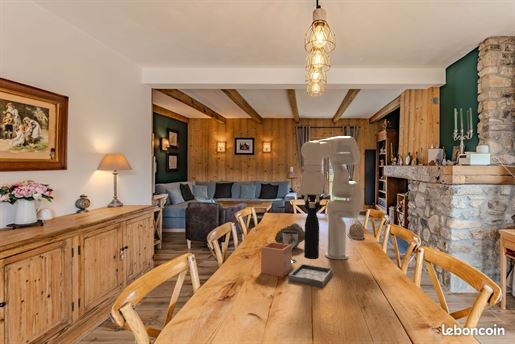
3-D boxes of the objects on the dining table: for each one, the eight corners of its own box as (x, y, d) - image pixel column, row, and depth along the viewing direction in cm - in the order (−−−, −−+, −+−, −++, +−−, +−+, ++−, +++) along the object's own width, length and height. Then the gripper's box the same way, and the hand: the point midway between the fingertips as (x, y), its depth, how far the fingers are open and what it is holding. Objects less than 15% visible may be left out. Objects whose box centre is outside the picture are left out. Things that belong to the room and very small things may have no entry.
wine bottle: (302, 255, 139) (303, 189, 139) (316, 255, 140) (317, 189, 139) (306, 259, 133) (307, 190, 133) (320, 259, 134) (321, 191, 133)
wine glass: (296, 263, 156) (297, 234, 156) (281, 262, 157) (281, 233, 157) (298, 259, 164) (298, 231, 163) (283, 258, 165) (283, 230, 165)
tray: (301, 268, 148) (301, 263, 148) (332, 274, 141) (332, 268, 141) (288, 280, 132) (288, 275, 132) (322, 287, 125) (322, 281, 125)
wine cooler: (270, 265, 152) (270, 241, 152) (291, 269, 147) (291, 244, 147) (260, 272, 142) (261, 247, 142) (282, 276, 137) (283, 250, 137)
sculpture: (362, 234, 226) (363, 221, 226) (366, 240, 209) (366, 225, 209) (346, 233, 228) (346, 220, 228) (348, 239, 212) (348, 224, 212)
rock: (295, 218, 192) (290, 217, 178) (310, 236, 188) (307, 237, 174) (273, 236, 195) (267, 237, 180) (287, 255, 190) (282, 257, 176)
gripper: (292, 169, 136) (291, 209, 137) (329, 169, 129) (328, 212, 129) (298, 169, 143) (297, 208, 143) (333, 169, 135) (332, 210, 136)
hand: (312, 209), depth 136 cm, fingers closed on wine bottle, 3 cm apart
